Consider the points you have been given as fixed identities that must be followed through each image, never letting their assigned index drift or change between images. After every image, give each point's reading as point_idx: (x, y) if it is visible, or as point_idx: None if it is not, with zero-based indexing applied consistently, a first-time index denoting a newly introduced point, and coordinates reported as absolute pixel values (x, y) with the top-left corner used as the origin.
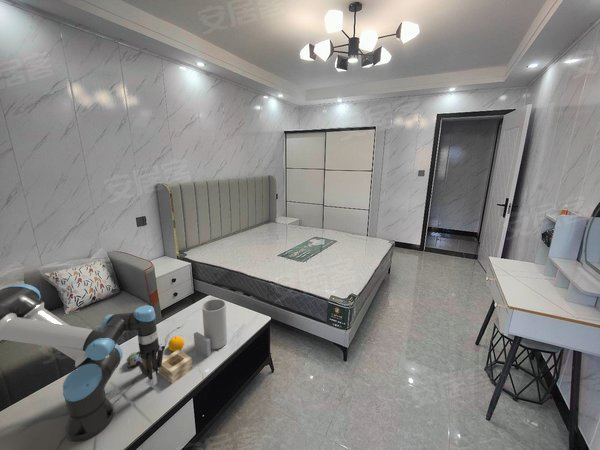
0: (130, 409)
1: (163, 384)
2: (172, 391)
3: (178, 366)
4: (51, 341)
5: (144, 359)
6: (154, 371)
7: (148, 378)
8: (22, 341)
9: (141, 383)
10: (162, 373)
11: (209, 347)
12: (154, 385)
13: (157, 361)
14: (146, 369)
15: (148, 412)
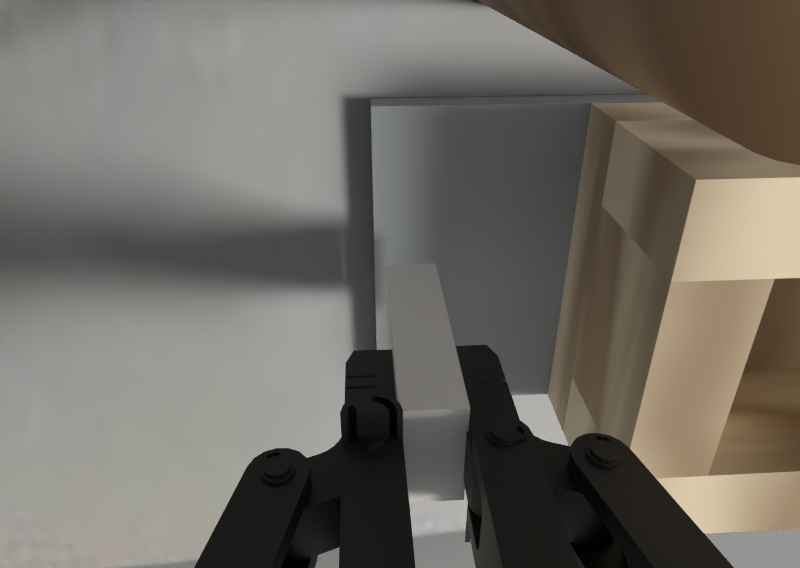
0: (78, 318)
1: (486, 332)
2: None
3: (744, 522)
4: None
5: (553, 11)
6: (453, 483)
7: (348, 362)
8: None
9: (332, 22)
10: (592, 219)
11: None
12: (412, 262)
13: (625, 538)
14: (341, 493)
15: (210, 468)
